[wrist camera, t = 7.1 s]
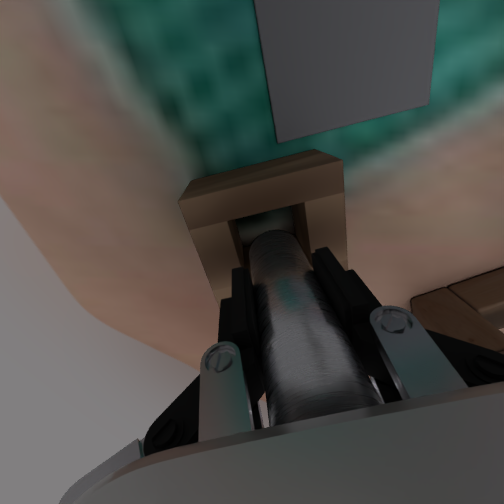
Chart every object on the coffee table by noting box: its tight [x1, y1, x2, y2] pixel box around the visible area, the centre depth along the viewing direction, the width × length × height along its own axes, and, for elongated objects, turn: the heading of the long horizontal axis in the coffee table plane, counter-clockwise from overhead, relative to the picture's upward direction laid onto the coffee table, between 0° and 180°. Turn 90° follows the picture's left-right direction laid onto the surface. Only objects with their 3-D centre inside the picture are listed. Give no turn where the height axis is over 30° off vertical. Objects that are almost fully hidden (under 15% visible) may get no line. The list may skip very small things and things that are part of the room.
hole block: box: [178, 149, 348, 308], centre depth 19 cm, size 16×9×5 cm, turn 13°
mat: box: [254, 0, 440, 143], centre depth 14 cm, size 10×10×1 cm
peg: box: [249, 230, 383, 427], centre depth 10 cm, size 3×3×10 cm
